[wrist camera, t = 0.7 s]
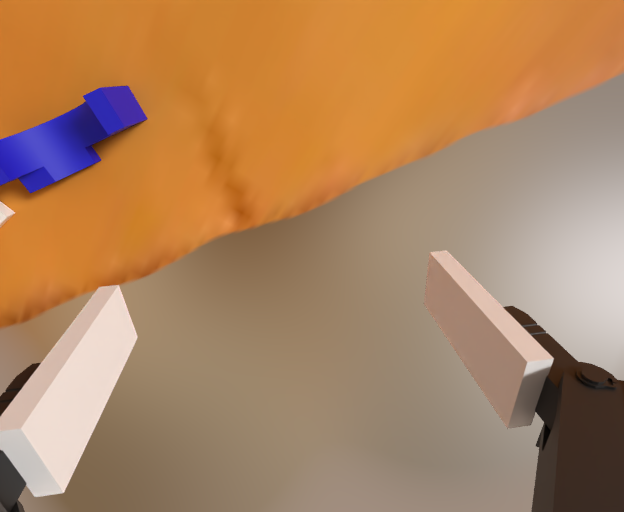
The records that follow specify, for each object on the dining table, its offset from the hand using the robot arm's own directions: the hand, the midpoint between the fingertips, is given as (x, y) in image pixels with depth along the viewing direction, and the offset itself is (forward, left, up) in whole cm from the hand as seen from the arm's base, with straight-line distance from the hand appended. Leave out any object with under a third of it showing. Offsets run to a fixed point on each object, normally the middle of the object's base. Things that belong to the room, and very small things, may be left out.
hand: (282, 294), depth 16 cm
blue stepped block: (-13, -12, -24) cm, 30 cm away
